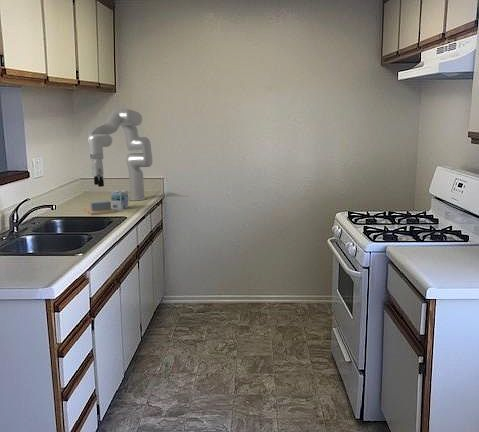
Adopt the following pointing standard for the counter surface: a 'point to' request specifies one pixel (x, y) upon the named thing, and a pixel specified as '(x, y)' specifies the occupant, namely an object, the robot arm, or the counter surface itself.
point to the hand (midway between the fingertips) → (99, 185)
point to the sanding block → (100, 206)
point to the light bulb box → (119, 200)
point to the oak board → (88, 210)
